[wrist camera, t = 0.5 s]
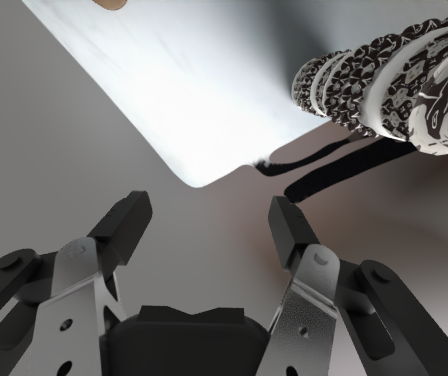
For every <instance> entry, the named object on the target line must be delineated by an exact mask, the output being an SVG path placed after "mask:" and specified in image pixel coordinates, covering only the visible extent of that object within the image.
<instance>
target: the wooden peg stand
mask: <svg viewBox="0 0 448 376" xmlns="http://www.w3.org/2000/svg"><path fill="white" fill-rule="evenodd" d="M93 1H94V2H95V3H97V4H98V5H100V6H102V7H103V8H105V9H108V10H118V9H120V8H122V7H123V6H124V5H125V3H126V2H127V0H93Z"/></svg>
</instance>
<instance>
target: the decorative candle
mask: <svg viewBox="0 0 448 376" xmlns="http://www.w3.org/2000/svg"><path fill="white" fill-rule="evenodd" d="M291 96H292V99H293V101H294V104H295V105H296V106H297V107H298V108H299V109H301V110H302V111H304V110H305V112H309V113H311V114H314V115H317V116H321V117H326V116H328V117H329V118H330V119H331V120H332V122H333V123H340V125H341V126H343V127H344V126H348V129H349V131H355V130H357V132H358V134H359V135H362V136H365V135H369V136H370V137H372V138H375V137H378V136H379V135H383V136H386V137H390V138H394V141H396V142H404V141H409V142H412V143H413V144H414V145H415V146H416V148H417V149H418V150H419V151H422V152H426V153H430V154H434V155H442V154H448V17H447V18H446V19H444V20H443V21H440V20H438V19H429V20H427V21H425V22H423V23H422V24H421V25H419V24H416V25H412V26H410V27H408V28H406V29H405V30H404V31H403V33H401V34H400V35H395V34H388V35H386V36H384V37H379V38H377V39H375V40H374V41H372V43H371V44H366V45H362V46H359V47H357V48H356V49H354V50H353V51H351V50H349V49H348V50H346V51H344V52H342V51H337V52H335V53H330V54H329V55H328V54H325V55H323V56H319V57H317V58H314V59H312V60H310V61H309V62H307V63H306V64H305V65H303V66H302V68H301V69H300V70H299V71H298V73H297V74H296V76H295V78H294V81H293V84H292V94H291ZM363 126H367V127H364V128H363Z"/></svg>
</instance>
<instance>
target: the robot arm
mask: <svg viewBox="0 0 448 376" xmlns="http://www.w3.org/2000/svg"><path fill="white" fill-rule="evenodd" d="M152 213H153V212H152V207H151V204H150V200H149V196H148V193H147V192H146V191H132V192H131V193H130V194H129V195H128V196H127V197H126V198H123V199H122V200H120V201H119V202H117V203H116V204H115V205H114V206H113V207H112V208H111V209H110V211H109V212H108V213H107V214H106V215H105V217H103V218H102V219H101V220H100V222H99V223H98V224H97V225H96V226H95V227H94V228H93V230H92V231H91V232H90V233H89V234H88V235H87V236H86V237H82V238H78V239H75V240H73V241H71V242H69V243H68V244H66V245H65V246H63V247H62V248H61V249H60V250H59V251H57V252H52V253H48V254H43V255H38V254H37V253H36V252H35V251H34V250H32V249H21V250H17V251H14V252H12V253H9V254H7V255H5V256H3V257H2V258H0V310H1V309H2V307H3V306H4V305H5V304H6V303H7V302H8V301H9V300H10V299H11V297H14V298H15V299H17V300H18V301H19V302H18V303H17V304H16V305H15V306H14V308H13V309H12V310H11V311H10V312H9V313H8V314H7V316H6V317H5V318H4V319H3V320H2V321H1V322H0V376H8V375H9V374H10V372H11V371H12V370H13V368H14V367H15V365H16V364H17V362H18V361H19V360H20V358H21V357H22V355H23V354H24V352H25V351H26V349H27V348H28V346H29V345H30V344H31V342H32V346H31V352H30V358H29V364H28V371H27V376H328V370H329V363H330V357H331V351H332V345H333V339H334V332H335V325H336V318H337V311H336V309H335V308H333V305H334V306H337V307H338V309H339V312H340V314H341V316H342V318H343V321H344V323H345V325H346V328H347V330H348V332H349V335H350V337H351V339H352V341H353V344H354V346H355V348H356V351H357V353H358V355H359V358H360V360H361V362H362V364H363V367H364V369H365V371H366V374H367V376H448V337H447V335H446V334H445V333H444V332H443V331H442V329H441V328H440V327H439V326H438V324H437V323H436V322H435V321H434V319H433V318H432V317H431V316H430V315H429V313H428V312H427V311H426V310H425V308H424V307H423V306H422V305H421V304H420V303H419V301H418V300H417V299H416V297H415V296H414V295H413V294H412V292H411V291H410V290H409V289H408V288H407V286H406V285H405V284H404V283H403V282H402V280H401V279H400V278H399V276H398V275H397V274H396V273H395V272H393V271H392V270H391V269H390V268H389V267H387V266H385V265H384V264H382V263H379V262H377V261H374V260H364V261H363V262H362V263H361V264H360V265H357V264H353V263H350V262H347V261H343V260H341V259H338V258H337V256H336V255H335V254H334V253H333V252H332V251H331V250H330V249H328V248H327V247H325V246H322V245H321V244H320V242H319V241H318V239H317V237H316V235H315V234H314V232H313V230H312V228H311V227H310V225H309V224H308V221H307V220H306V218H305V216H304V214H303V213H302V211H301V210H300V209H299V208H298V207H297V206H296V205H295V204H290V202H289V200H288V198H287V197H286V196H273V198H272V202H271V206H270V210H269V214H268V222H269V225H270V229H271V232H272V236H273V239H274V243H275V245H276V249H277V252H278V256H279V260H280V263H281V266H282V270H283V271H290V273H291V275H292V277H291V279H290V281H289V284H288V286H287V288H286V291H285V293H284V296H283V298H282V300H281V303H280V305H279V307H278V310H277V312H276V314H275V316H274V319H273V320H272V322H271V325H270V327H269V329H268V331H267V330H266V329H265V328H264V327H263V326H261V325H260V324H259V323H258V322H256V321H255V320H253V319H251V318H249V317H246V316H244V308H216V309H212V310H209V311H205V312H202V313H198V314H194V315H190V314H187V313H184V312H182V311H179V310H176V309H174V308H171V307H168V306H142V307H141V310H140V312H139V314H137V315H134V316H132V317H129V318H128V319H127V318H126V315H125V312H124V310H123V308H122V304H121V299H120V294H119V289H118V284H117V279H116V274H115V271H114V270H115V268H116V267H117V265H124V266H126V265H127V263H128V261H129V259H130V257H131V256H132V254H133V252H134V250H135V248H136V246H137V244H138V243H139V240H140V239H141V237H142V235H143V233H144V231H145V229H146V228H147V226H148V224H149V222H150V220H151V218H152ZM376 312H377V313H376ZM377 314H378V315H379V317H380V318H379V317H378V315H377ZM380 319H381V320H382V322H383V323H382V322H381V320H380ZM383 324H384V325H383ZM384 326H385V327H386V328H385V327H384ZM386 329H387V330H388V332H389V333H388V332H387V330H386ZM389 334H390V335H389ZM390 336H391V337H392V339H393V340H392V339H391V337H390Z"/></svg>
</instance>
